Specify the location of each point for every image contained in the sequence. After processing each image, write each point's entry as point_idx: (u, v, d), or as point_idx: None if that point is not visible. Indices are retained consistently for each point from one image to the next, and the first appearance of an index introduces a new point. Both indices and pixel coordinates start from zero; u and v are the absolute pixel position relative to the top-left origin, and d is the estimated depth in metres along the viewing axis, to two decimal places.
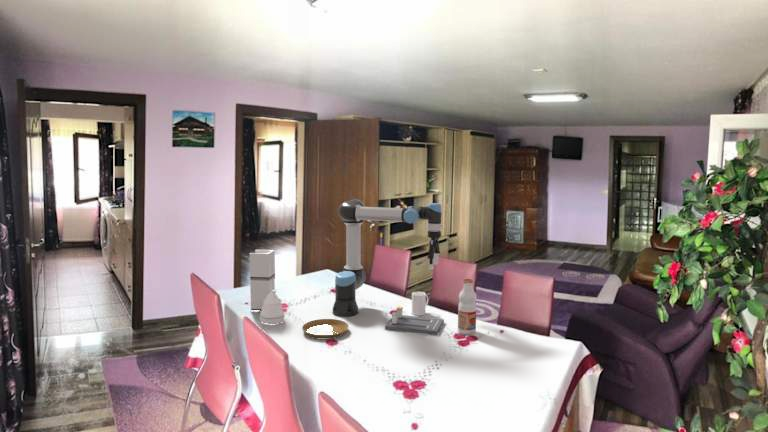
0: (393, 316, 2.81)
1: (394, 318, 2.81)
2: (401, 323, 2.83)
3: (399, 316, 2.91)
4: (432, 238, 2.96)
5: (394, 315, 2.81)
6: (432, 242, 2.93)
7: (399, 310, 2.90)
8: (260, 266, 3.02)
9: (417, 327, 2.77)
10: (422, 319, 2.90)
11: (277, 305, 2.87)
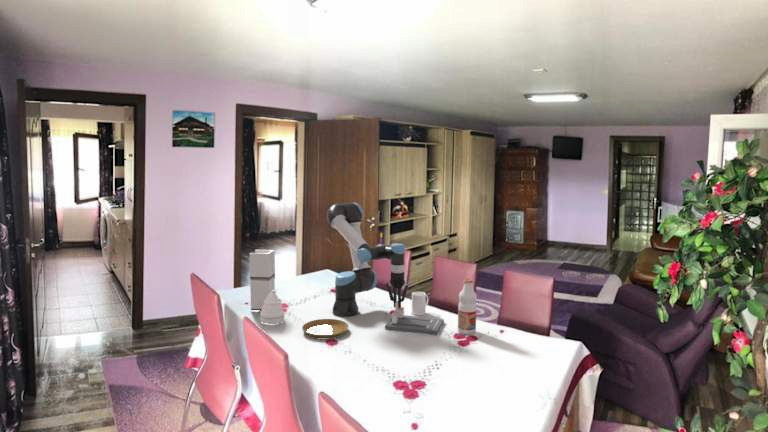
0: (393, 316, 2.81)
1: (394, 318, 2.81)
2: (401, 323, 2.83)
3: (400, 316, 2.91)
4: None
5: (394, 315, 2.81)
6: None
7: (400, 310, 2.90)
8: (260, 266, 3.02)
9: (417, 327, 2.77)
10: (422, 319, 2.90)
11: (277, 305, 2.87)
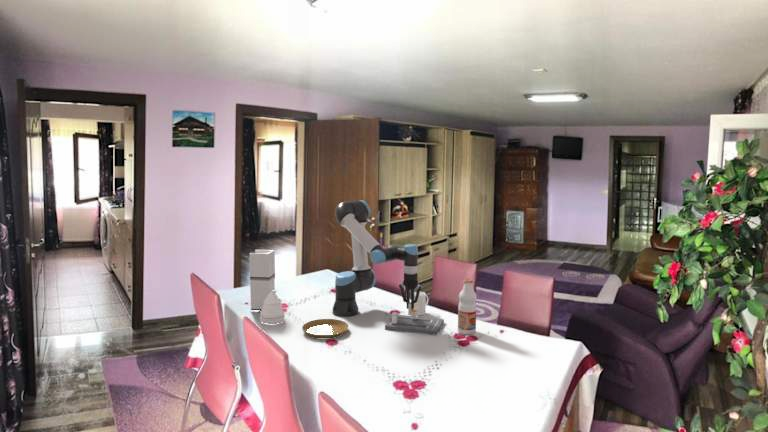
0: (393, 316, 2.81)
1: (394, 318, 2.81)
2: (401, 323, 2.83)
3: (414, 318, 2.88)
4: None
5: (394, 315, 2.81)
6: None
7: (414, 311, 2.88)
8: (260, 266, 3.02)
9: (417, 327, 2.77)
10: (422, 319, 2.90)
11: (277, 305, 2.87)
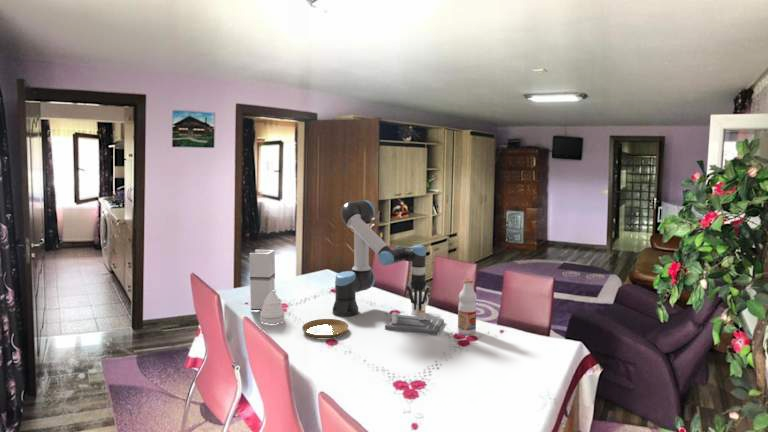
0: (393, 316, 2.81)
1: (394, 318, 2.81)
2: (401, 323, 2.83)
3: (422, 318, 2.87)
4: None
5: (394, 315, 2.81)
6: None
7: (422, 312, 2.87)
8: (260, 266, 3.02)
9: (417, 327, 2.77)
10: None
11: (277, 305, 2.87)
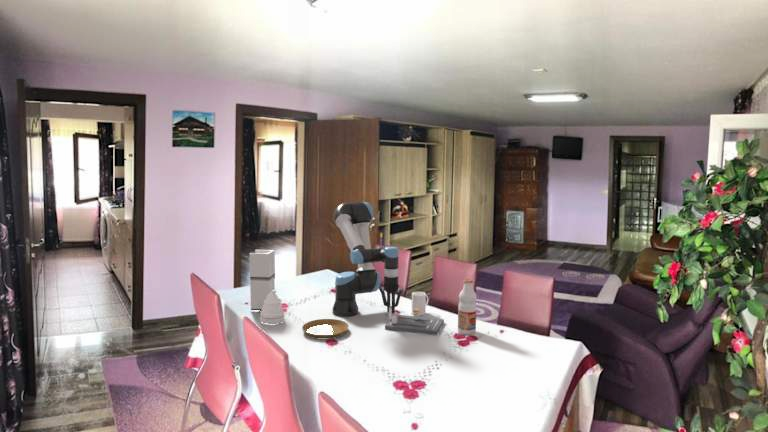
0: (393, 316, 2.81)
1: (394, 318, 2.81)
2: (401, 323, 2.83)
3: (416, 318, 2.88)
4: None
5: (394, 315, 2.81)
6: None
7: (416, 312, 2.88)
8: (260, 266, 3.02)
9: (417, 327, 2.77)
10: (422, 319, 2.90)
11: (277, 305, 2.87)
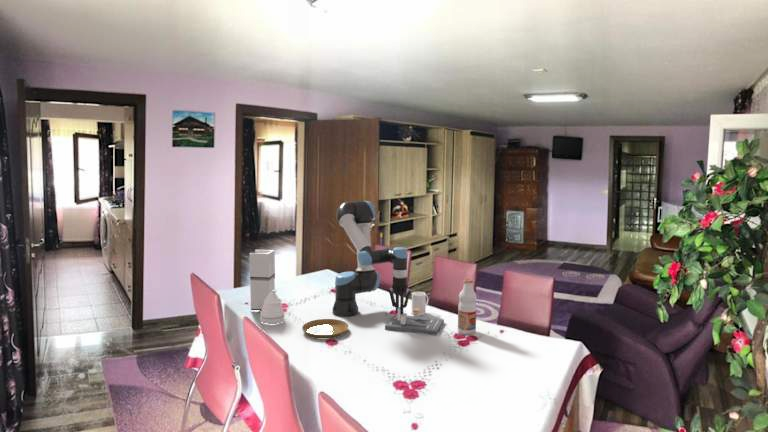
0: (402, 317, 2.80)
1: (403, 319, 2.80)
2: None
3: (416, 318, 2.88)
4: None
5: (403, 316, 2.79)
6: None
7: (416, 312, 2.88)
8: (260, 266, 3.02)
9: (417, 327, 2.77)
10: (422, 319, 2.90)
11: (277, 305, 2.87)
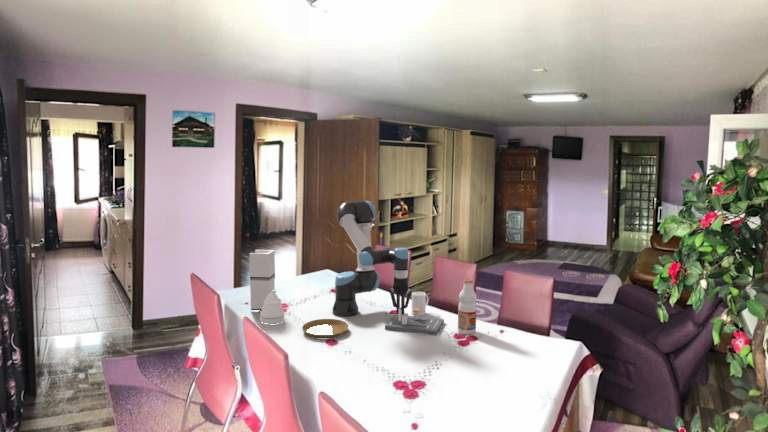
0: (403, 317, 2.79)
1: (404, 319, 2.79)
2: (401, 323, 2.83)
3: (416, 318, 2.88)
4: None
5: (404, 316, 2.79)
6: None
7: (416, 312, 2.88)
8: (260, 266, 3.02)
9: (417, 327, 2.77)
10: (422, 319, 2.90)
11: (277, 305, 2.87)
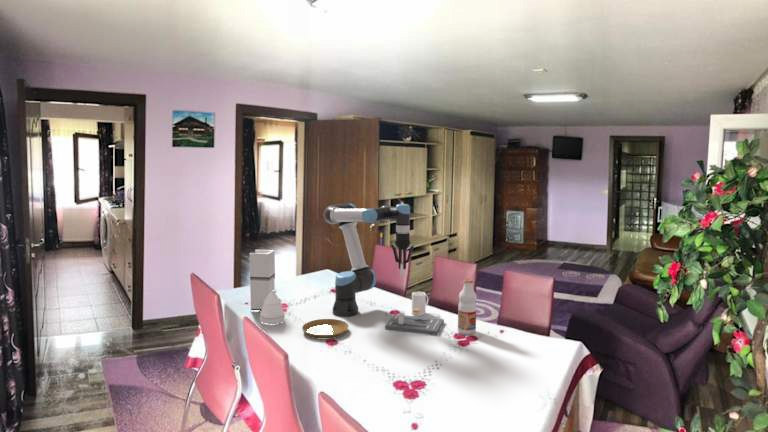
0: (400, 317, 2.80)
1: (401, 319, 2.80)
2: None
3: (416, 318, 2.88)
4: None
5: (401, 316, 2.80)
6: None
7: (416, 312, 2.88)
8: (260, 266, 3.02)
9: (417, 327, 2.77)
10: (422, 319, 2.90)
11: (277, 305, 2.87)
